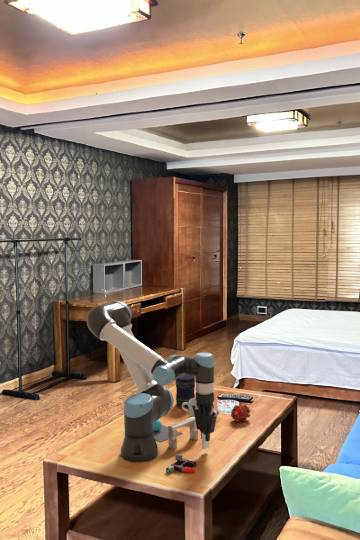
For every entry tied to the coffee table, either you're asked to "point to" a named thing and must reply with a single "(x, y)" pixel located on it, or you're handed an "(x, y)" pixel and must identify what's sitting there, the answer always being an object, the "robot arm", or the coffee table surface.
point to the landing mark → (162, 434)
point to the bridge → (173, 428)
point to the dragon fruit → (240, 412)
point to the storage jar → (184, 390)
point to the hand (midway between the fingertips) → (205, 447)
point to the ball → (157, 425)
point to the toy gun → (182, 465)
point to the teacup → (190, 406)
